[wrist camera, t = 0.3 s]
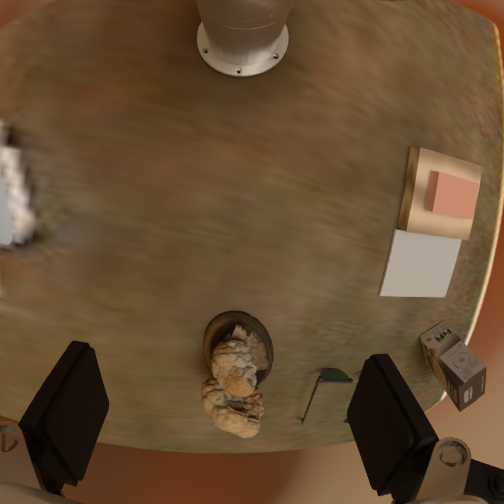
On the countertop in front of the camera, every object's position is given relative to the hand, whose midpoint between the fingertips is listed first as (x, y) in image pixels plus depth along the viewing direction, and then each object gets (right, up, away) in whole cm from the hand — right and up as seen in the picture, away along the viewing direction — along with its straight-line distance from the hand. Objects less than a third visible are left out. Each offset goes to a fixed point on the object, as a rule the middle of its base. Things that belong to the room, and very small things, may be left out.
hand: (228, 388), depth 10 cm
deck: (+31, +14, +35) cm, 49 cm away
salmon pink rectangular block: (+32, +13, +31) cm, 46 cm away
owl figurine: (-1, -13, +43) cm, 45 cm away
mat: (+30, +2, +39) cm, 49 cm away
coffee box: (+39, -14, +45) cm, 61 cm away
